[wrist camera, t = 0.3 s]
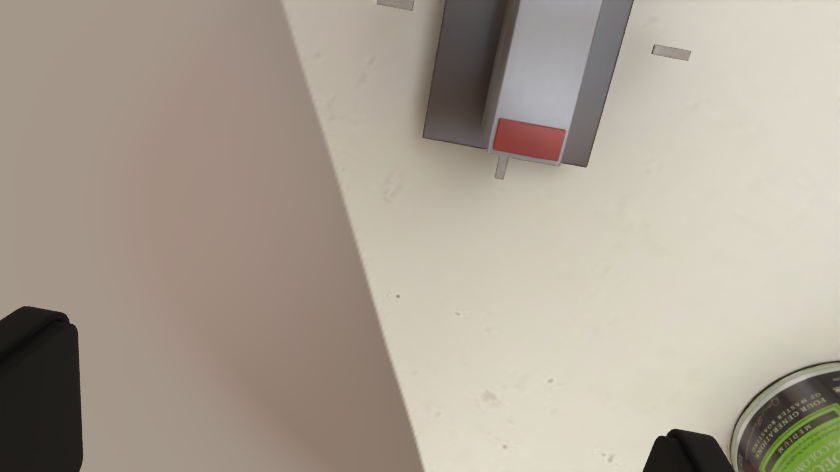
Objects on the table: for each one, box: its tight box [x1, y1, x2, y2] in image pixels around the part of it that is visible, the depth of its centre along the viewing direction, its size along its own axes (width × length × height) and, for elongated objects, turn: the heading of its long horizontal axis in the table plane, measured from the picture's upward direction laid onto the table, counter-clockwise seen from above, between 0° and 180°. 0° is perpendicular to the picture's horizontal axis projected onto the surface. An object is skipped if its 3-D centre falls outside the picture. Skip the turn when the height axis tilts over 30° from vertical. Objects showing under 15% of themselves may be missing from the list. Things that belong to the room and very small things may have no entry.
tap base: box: [377, 0, 691, 180], centre depth 24 cm, size 12×12×3 cm
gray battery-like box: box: [482, 0, 604, 166], centre depth 20 cm, size 8×2×6 cm, turn 170°
